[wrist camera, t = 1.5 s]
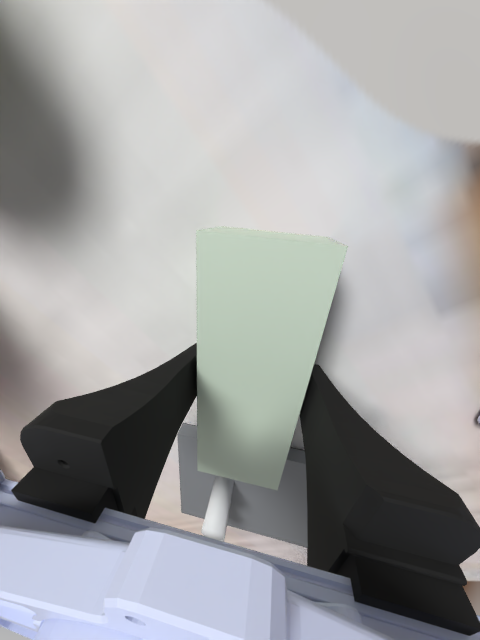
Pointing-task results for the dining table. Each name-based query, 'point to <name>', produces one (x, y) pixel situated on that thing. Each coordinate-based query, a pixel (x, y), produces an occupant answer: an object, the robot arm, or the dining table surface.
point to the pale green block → (257, 344)
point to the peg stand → (244, 497)
